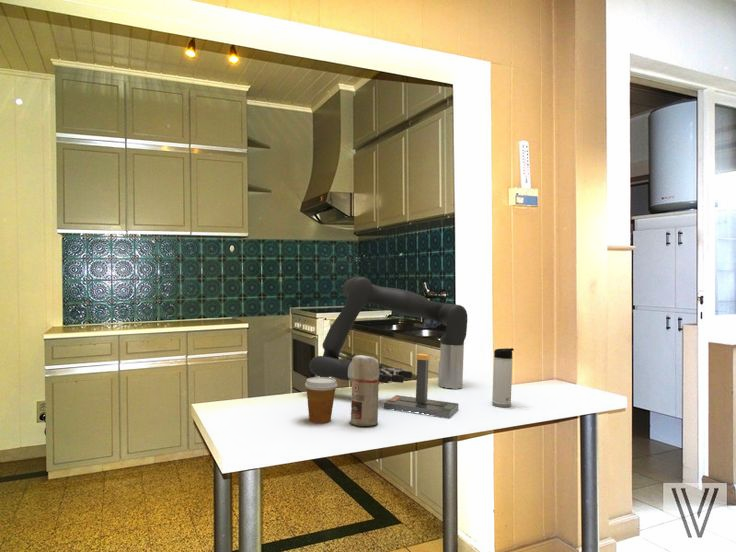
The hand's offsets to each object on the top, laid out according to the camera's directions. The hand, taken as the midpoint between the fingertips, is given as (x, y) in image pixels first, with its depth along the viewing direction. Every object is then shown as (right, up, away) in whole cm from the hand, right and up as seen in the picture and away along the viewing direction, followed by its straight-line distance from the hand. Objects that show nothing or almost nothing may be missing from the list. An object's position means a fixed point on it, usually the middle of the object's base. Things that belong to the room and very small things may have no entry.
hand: (407, 377), depth 165 cm
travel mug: (+33, -11, +7) cm, 36 cm away
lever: (+4, -8, -2) cm, 9 cm away
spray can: (-15, -10, -20) cm, 27 cm away
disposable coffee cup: (-28, -9, -19) cm, 35 cm away
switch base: (+4, -10, -2) cm, 11 cm away
